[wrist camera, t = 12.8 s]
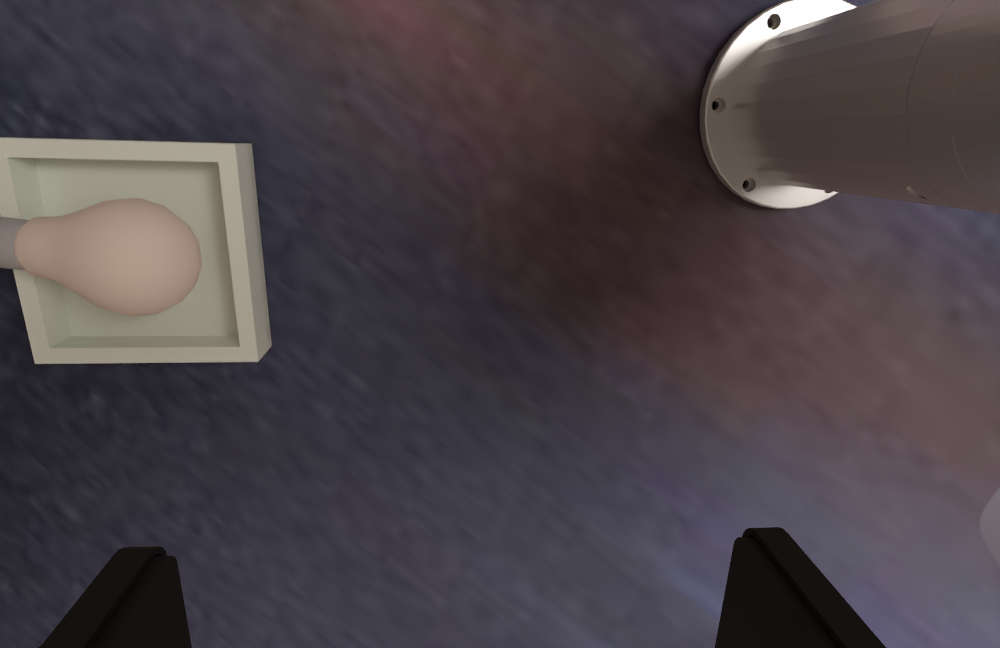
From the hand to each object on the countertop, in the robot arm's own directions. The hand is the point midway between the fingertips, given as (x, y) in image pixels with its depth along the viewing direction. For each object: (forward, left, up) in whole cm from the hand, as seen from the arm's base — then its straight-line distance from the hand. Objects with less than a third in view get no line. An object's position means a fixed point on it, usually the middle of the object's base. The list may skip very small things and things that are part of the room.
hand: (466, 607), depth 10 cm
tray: (+18, 0, -30) cm, 35 cm away
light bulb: (+20, -1, -28) cm, 35 cm away
